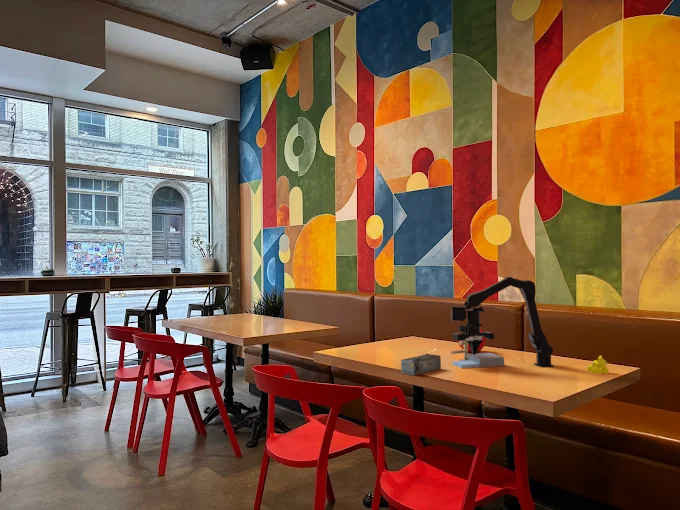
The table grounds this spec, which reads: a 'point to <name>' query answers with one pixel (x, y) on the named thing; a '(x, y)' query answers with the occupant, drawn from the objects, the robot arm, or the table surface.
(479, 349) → the tomato
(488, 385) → the table surface
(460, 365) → the cover
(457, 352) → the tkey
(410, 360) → the beverage carton
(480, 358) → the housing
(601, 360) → the yellow crystal cluster
